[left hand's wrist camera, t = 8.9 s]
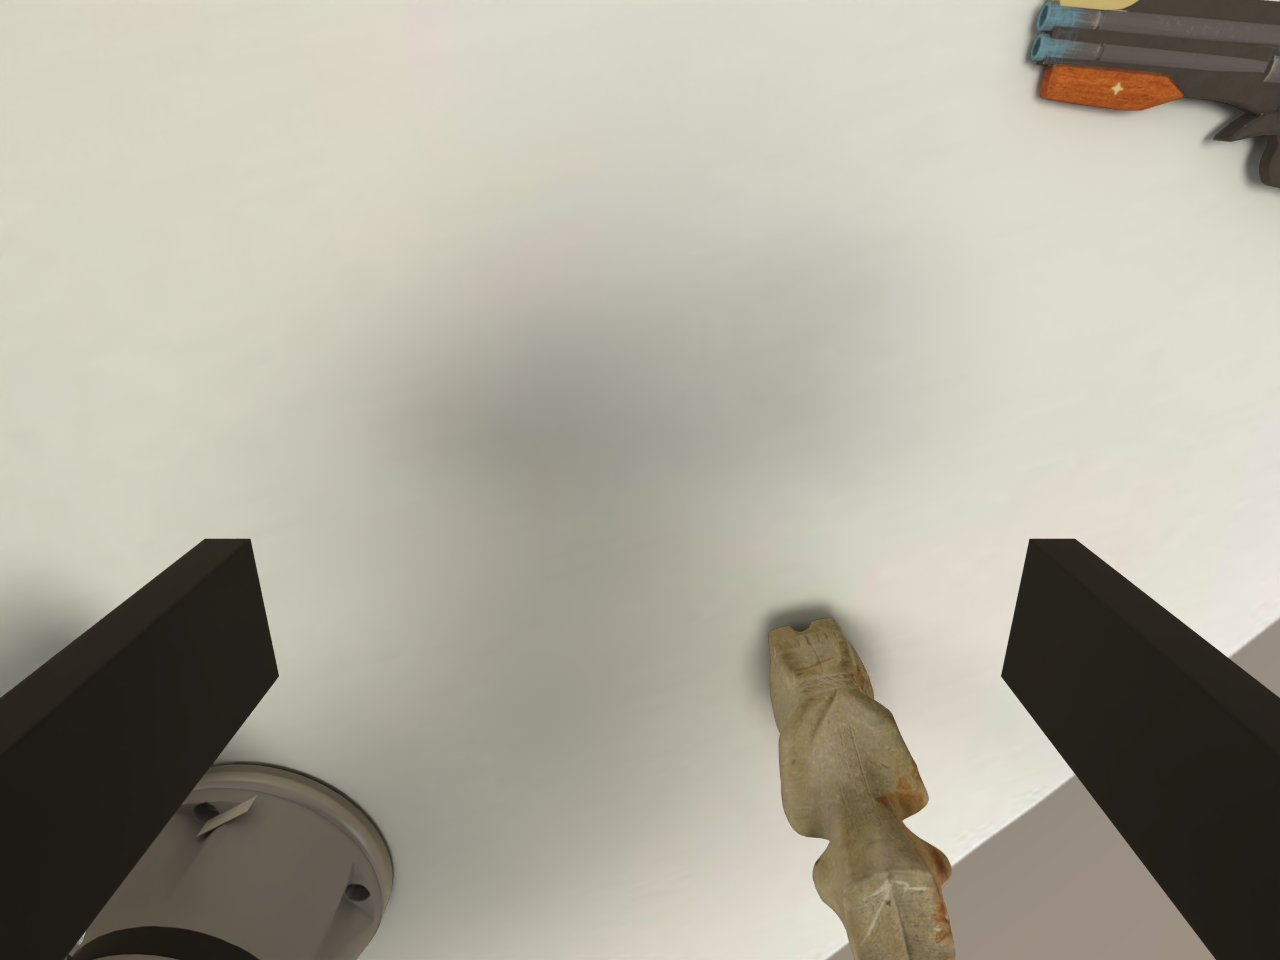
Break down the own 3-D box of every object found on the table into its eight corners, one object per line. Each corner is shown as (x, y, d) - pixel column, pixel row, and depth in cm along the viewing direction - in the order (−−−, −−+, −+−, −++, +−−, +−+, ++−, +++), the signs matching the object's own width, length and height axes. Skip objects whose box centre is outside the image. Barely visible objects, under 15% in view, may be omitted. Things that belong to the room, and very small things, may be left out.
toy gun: (1467, 301, 29) (1650, 6, 25) (985, 250, 30) (1074, -47, 25) (1410, 286, 32) (1567, 14, 27) (965, 239, 32) (1043, -34, 28)
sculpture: (762, 725, 40) (823, 1009, 26) (743, 613, 38) (799, 861, 24) (870, 709, 40) (990, 989, 26) (857, 594, 37) (984, 835, 23)
